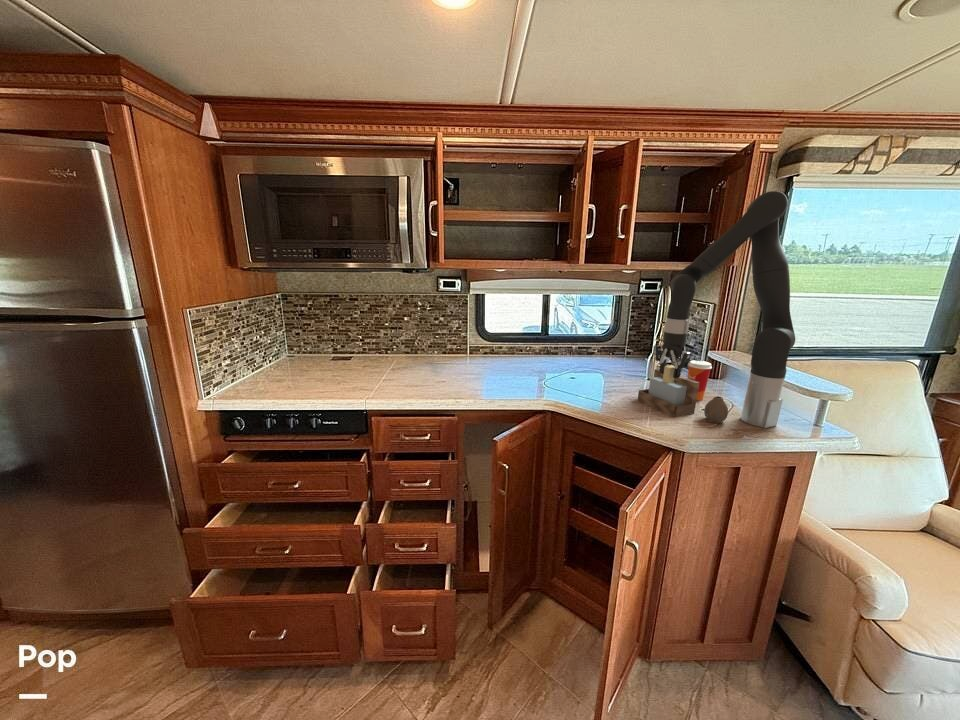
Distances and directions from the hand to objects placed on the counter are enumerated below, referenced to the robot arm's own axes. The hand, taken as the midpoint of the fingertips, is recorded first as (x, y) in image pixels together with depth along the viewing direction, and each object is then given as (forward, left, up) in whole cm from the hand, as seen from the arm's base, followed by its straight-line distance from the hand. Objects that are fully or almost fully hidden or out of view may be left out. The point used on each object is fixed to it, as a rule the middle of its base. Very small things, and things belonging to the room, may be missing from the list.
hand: (669, 375), depth 136 cm
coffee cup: (+2, -19, -13) cm, 23 cm away
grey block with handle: (0, 0, -13) cm, 13 cm away
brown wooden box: (0, 0, -12) cm, 12 cm away
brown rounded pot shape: (-16, -6, -13) cm, 21 cm away
